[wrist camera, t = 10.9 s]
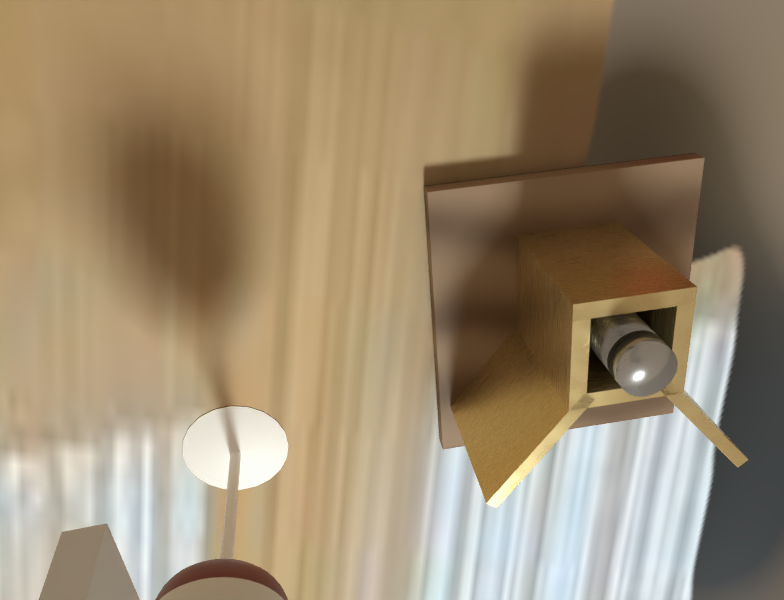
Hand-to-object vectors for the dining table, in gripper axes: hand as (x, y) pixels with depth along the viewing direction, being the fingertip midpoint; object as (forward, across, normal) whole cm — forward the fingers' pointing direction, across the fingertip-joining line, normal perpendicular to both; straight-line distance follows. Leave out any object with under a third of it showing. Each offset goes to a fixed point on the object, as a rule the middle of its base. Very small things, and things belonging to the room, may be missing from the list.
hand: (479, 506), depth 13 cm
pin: (+31, +14, -13) cm, 36 cm away
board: (+32, +13, -16) cm, 38 cm away
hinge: (+31, +13, -16) cm, 37 cm away
